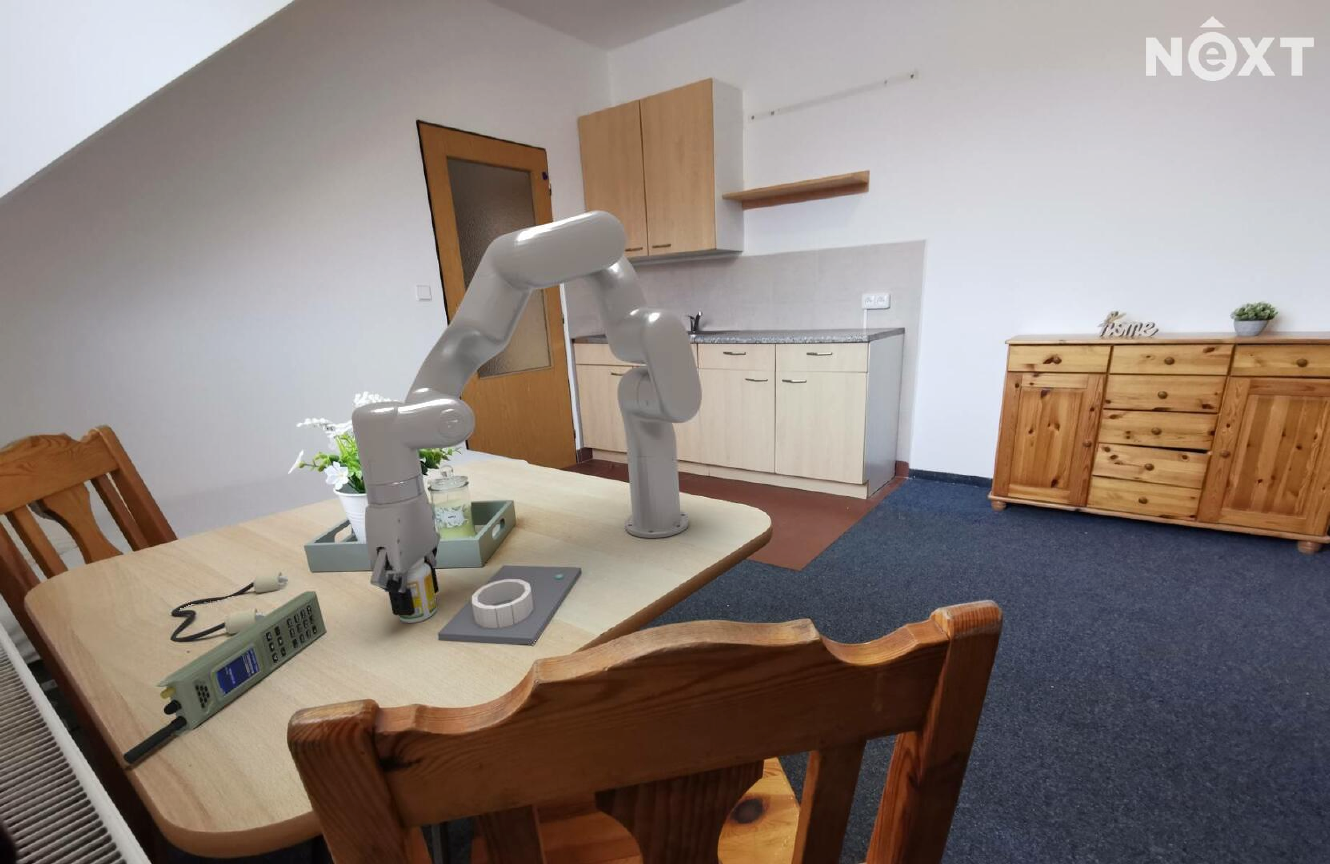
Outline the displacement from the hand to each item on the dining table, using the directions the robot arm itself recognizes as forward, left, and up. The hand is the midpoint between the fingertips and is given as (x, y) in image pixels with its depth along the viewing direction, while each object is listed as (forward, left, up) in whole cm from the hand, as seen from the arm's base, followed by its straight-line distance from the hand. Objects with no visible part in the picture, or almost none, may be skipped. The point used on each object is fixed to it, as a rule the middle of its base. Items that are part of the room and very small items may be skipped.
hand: (416, 601), depth 85 cm
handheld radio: (+18, -13, -2) cm, 22 cm away
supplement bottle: (0, 0, -2) cm, 2 cm away
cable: (+3, -32, -3) cm, 32 cm away
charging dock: (-4, +14, -2) cm, 15 cm away
